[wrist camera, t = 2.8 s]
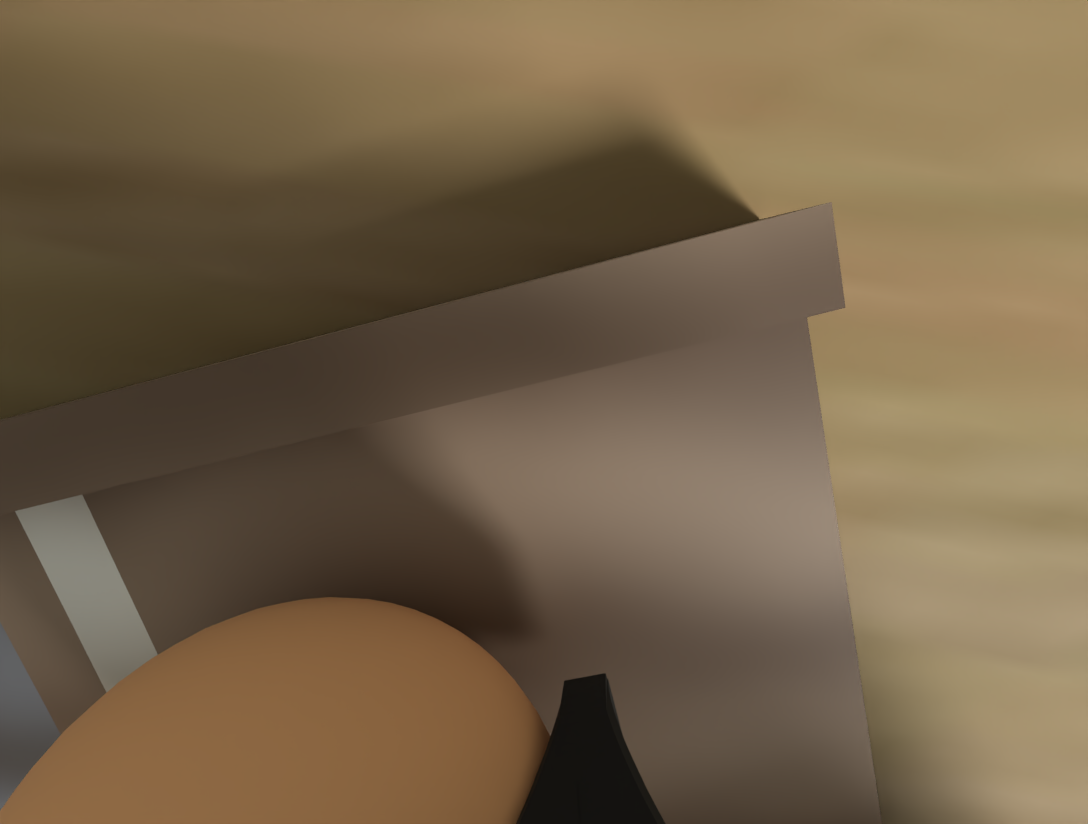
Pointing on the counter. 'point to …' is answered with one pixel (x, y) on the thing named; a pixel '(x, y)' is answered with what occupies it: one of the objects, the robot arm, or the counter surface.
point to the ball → (299, 728)
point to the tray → (489, 513)
